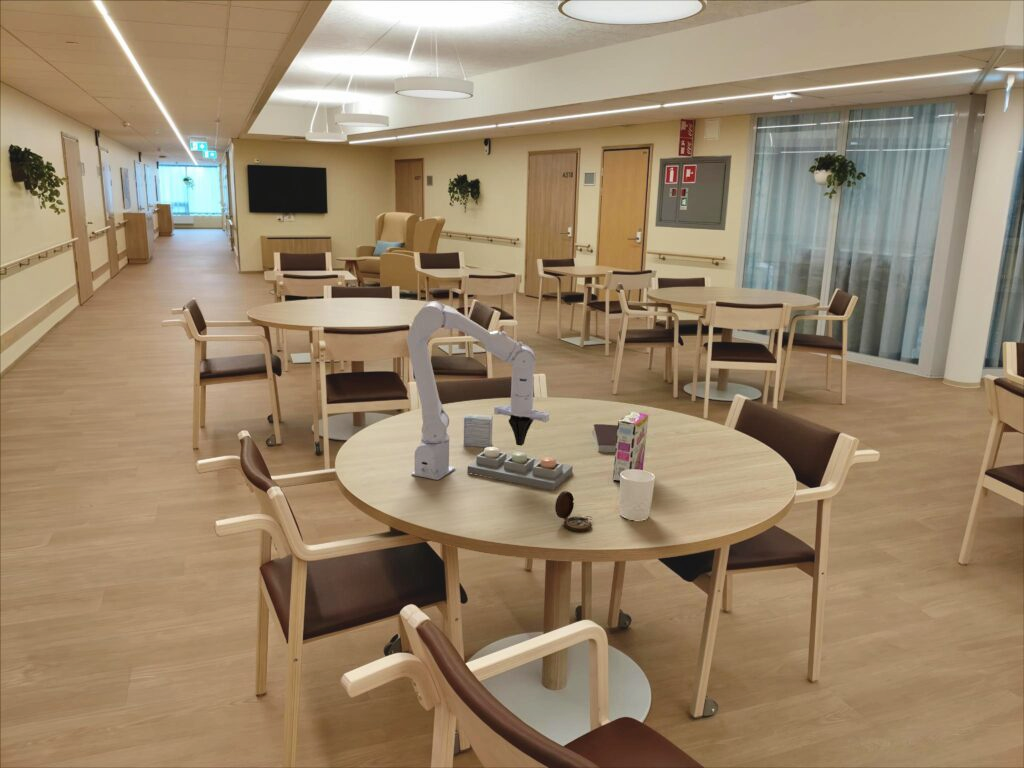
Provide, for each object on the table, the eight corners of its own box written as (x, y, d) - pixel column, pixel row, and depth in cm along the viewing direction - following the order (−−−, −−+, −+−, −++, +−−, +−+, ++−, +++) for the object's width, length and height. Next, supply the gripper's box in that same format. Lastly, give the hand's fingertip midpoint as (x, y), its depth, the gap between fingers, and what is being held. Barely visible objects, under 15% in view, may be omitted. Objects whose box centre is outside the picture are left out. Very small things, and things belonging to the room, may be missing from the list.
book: (632, 435, 235) (633, 425, 234) (640, 455, 216) (641, 445, 215) (592, 433, 235) (593, 423, 234) (597, 453, 216) (597, 443, 216)
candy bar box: (630, 485, 192) (635, 424, 188) (612, 481, 194) (616, 420, 190) (644, 472, 202) (649, 413, 198) (626, 468, 204) (631, 410, 200)
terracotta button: (552, 470, 190) (552, 463, 190) (537, 468, 192) (538, 460, 191) (557, 466, 194) (558, 458, 193) (543, 463, 195) (543, 456, 195)
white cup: (647, 509, 178) (651, 469, 175) (654, 523, 170) (658, 482, 167) (614, 508, 177) (617, 468, 175) (620, 522, 170) (623, 481, 167)
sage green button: (523, 465, 193) (523, 458, 193) (509, 462, 195) (509, 455, 194) (529, 460, 197) (529, 453, 196) (515, 458, 198) (515, 450, 198)
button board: (553, 490, 186) (554, 475, 186) (467, 473, 196) (467, 458, 195) (572, 473, 199) (573, 458, 198) (490, 457, 208) (491, 443, 207)
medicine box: (492, 443, 220) (493, 415, 218) (490, 448, 216) (491, 419, 214) (465, 441, 221) (466, 413, 219) (463, 446, 217) (463, 417, 215)
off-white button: (495, 460, 196) (495, 452, 196) (481, 457, 198) (481, 450, 197) (501, 455, 200) (501, 448, 199) (488, 453, 201) (488, 445, 201)
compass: (581, 535, 162) (583, 504, 161) (552, 524, 167) (554, 494, 166) (602, 524, 168) (604, 494, 167) (573, 514, 173) (575, 484, 171)
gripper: (554, 394, 192) (551, 444, 195) (502, 386, 198) (501, 435, 201) (544, 400, 186) (541, 452, 189) (491, 392, 191) (489, 443, 195)
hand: (520, 444), depth 194 cm, fingers closed
